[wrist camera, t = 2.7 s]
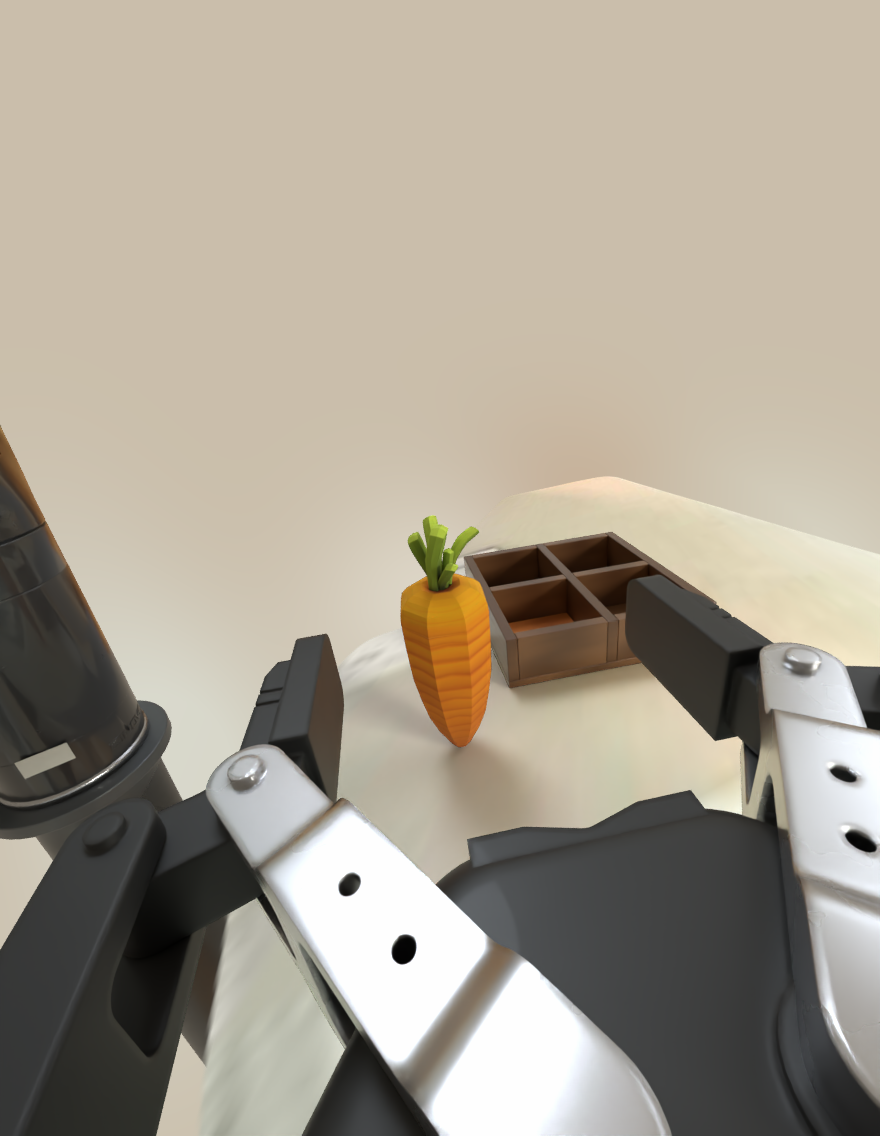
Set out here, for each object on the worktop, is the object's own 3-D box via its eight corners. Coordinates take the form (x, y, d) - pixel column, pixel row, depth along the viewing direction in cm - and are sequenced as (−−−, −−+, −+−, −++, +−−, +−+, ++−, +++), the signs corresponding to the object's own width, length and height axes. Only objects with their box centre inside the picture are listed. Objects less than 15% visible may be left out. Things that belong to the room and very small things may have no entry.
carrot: (437, 711, 31) (404, 502, 25) (508, 722, 30) (492, 501, 24) (410, 770, 27) (363, 536, 21) (491, 786, 26) (466, 537, 19)
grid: (509, 688, 33) (506, 640, 31) (467, 592, 47) (463, 556, 45) (709, 649, 34) (717, 601, 32) (610, 567, 48) (611, 531, 46)
